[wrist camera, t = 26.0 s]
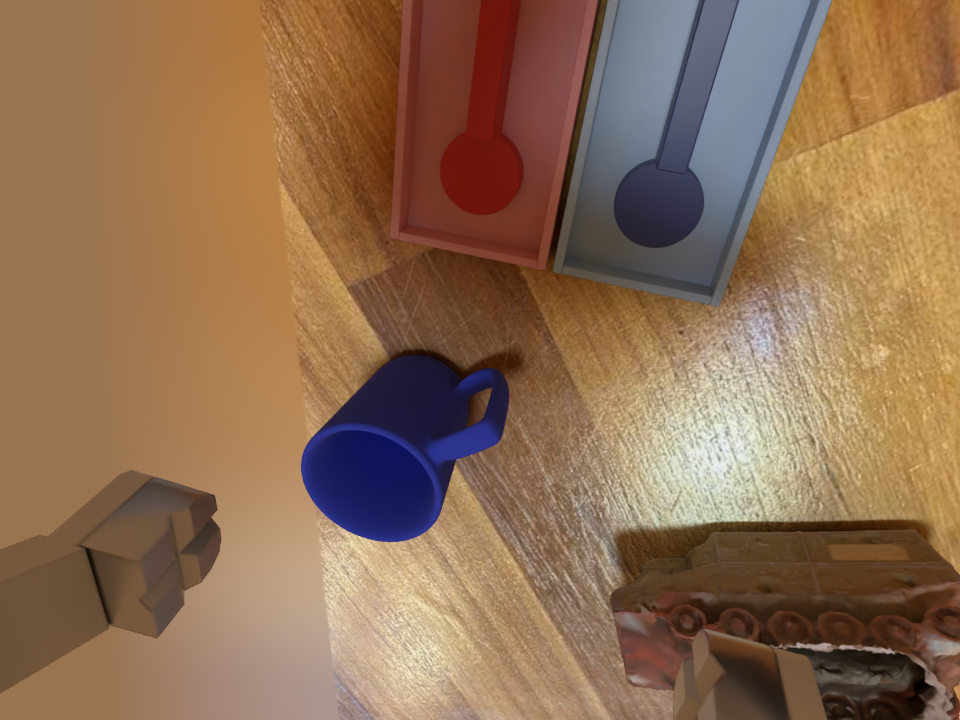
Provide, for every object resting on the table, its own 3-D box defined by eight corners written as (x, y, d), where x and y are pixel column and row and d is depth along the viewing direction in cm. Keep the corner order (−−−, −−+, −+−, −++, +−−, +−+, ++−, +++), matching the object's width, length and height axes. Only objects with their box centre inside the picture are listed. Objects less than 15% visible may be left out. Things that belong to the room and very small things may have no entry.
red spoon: (470, -84, 27) (456, -92, 25) (565, -70, 27) (559, -78, 25) (440, 202, 34) (427, 213, 32) (516, 217, 34) (508, 230, 32)
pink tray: (401, 228, 36) (390, 238, 34) (426, -161, 27) (411, -174, 25) (549, 258, 35) (545, 270, 33) (628, -138, 26) (627, -150, 24)
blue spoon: (678, -59, 26) (681, -66, 24) (783, -45, 26) (795, -50, 23) (605, 233, 33) (603, 247, 31) (687, 249, 32) (690, 265, 30)
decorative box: (903, 658, 43) (966, 809, 35) (616, 625, 48) (610, 750, 40) (947, 517, 37) (1035, 660, 29) (612, 497, 42) (605, 613, 34)
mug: (555, 400, 39) (531, 504, 31) (410, 454, 44) (356, 557, 36) (492, 295, 37) (447, 377, 28) (346, 365, 42) (271, 453, 33)
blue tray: (556, 260, 35) (552, 272, 33) (637, -137, 26) (637, -148, 24) (715, 292, 34) (719, 307, 32) (860, -112, 24) (877, -122, 23)
